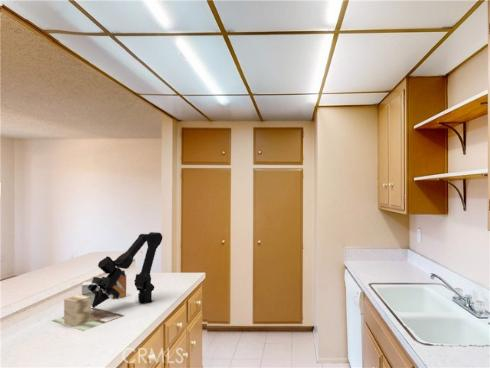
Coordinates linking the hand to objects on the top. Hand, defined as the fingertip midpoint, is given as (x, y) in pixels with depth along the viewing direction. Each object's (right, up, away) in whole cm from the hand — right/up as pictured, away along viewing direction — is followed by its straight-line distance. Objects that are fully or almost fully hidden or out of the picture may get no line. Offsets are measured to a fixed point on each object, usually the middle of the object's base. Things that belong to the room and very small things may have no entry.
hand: (92, 307), depth 166 cm
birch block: (-4, -4, -7) cm, 9 cm away
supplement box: (-11, -7, +21) cm, 25 cm away
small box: (-2, -8, +38) cm, 39 cm away
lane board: (-1, -6, -2) cm, 6 cm away
